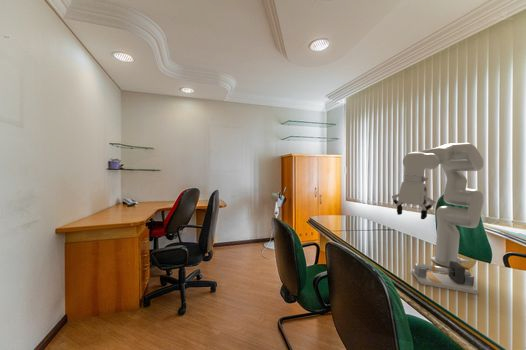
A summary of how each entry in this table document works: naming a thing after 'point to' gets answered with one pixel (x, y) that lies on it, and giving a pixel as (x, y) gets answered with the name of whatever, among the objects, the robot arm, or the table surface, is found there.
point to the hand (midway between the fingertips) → (410, 216)
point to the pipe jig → (443, 278)
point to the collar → (457, 272)
